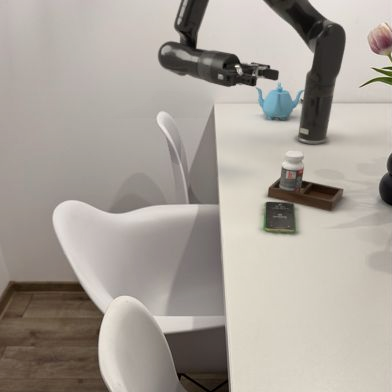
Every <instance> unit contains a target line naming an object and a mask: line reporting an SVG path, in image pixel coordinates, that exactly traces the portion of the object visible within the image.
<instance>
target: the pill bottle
mask: <svg viewBox="0 0 392 392" xmlns="http://www.w3.org/2000/svg"><path fill="white" fill-rule="evenodd" d="M304 158H305V154H304V152H302V151H300V150H288V151H286V152H285V155H284V159H285V160H284V161H283V162H282V164H281V170H280V177H281V178H280V177H279V178H280V186H279V189H283V190H287V191H292V192H296V193H300V191H301V185H302V180H303V177H304V176H303V175H304V172H305V171H304V170H305V163H304V162H303V160H304Z"/></svg>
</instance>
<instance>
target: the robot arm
mask: <svg viewBox="0 0 392 392" xmlns="http://www.w3.org/2000/svg"><path fill="white" fill-rule="evenodd" d="M262 1H263V2H264V3H265V4H266V5H267V7H269V8H270V9H271V10H272V11H273V12H274V13H275V14H276V15H277V16H279V18H281V19H282V20H283V21H285V22H286V23H287V24H288V25H290V26H291V27H292V28H293V29H294V30H295V32H296V33H297V34H298V36H299V37H300V38H301V40H302V41H303V42H304V44H305V45H306V46H307V48H308V49H309V51H310V52H311V53H312V54H313V58H312V63H311V68H310V69H309V70H308V71H307V73H306V75H305V81H304V82H305V83H304V89H303V90H304V91H303V97H302V98H299V101H301V103H302V104H301V113H300V120H299V126H298V135H297V141H298V142H300V143H303V144H306V145H321V144H324V143H326V141H327V136H328V130H329V125H330V124H329V123H330V117H331V111H332V106H333V102H334V101H333V100H334V95H335V89H336V88H335V87H336V83H337V78H338V76H339V75H340V73H341V68H342V63H343V58H344V56H345V55H344V54H345V51H346V50H345V49H346V43H347V34H346V30H345V28H344V27H343V26H342V25H341V24H340V23H338V22H335V21H332V20H330V19H329V18H327V17H325V16H324V14H322V13H321V12H320V11H318V10H317V9H316V7H314V5H312V3H311V1H309V0H262ZM209 2H210V0H180V2H179V3H180V4H179V6H178V9H177V12H176V15H175V18H174V22H173V29H174V30H175V32H176V33H177V34H178V35H179V42H177V41H173V40H169V41H166V42H163V43H162V44H161V45H160V47H159V48H158V51H157V61H158V63H159V65H160V66H161V68H163V69H164V70H166V71H168V72H170V73H171V74H172V73H173V74H174V75H177V76H180V77H186V76H189V77H191V78H193V79H194V78H195V79H197V80H202V81H205V82H207V83H209V84H214V85H218V86H222V87H227V88H230V87H235V86H238V85H239V86H242V85H245V86H249V87H254V88H255V87H256V86H257V82H258V79H263V80H271V81H273V82H274V81H278V80H279V76H280V71H279V70H278V69H273V68H271V65H270V64H264V63H259V62H255V61H252V62H250V63H248V62H241V61H240V59H239V57H238V55H236V54H235V53H231V52H227V51H219V50H215V49H212V50H210V49H205V48H197V47H198V40H199V38H198V37H199V32H200V30H201V26H202V23H203V20H204V17H205V14H206V11H207V8H208V6H209Z"/></svg>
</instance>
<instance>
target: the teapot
mask: <svg viewBox="0 0 392 392" xmlns="http://www.w3.org/2000/svg"><path fill="white" fill-rule="evenodd" d="M254 88H255V89H256V91H257V93H258V105H259V106H260V108H261V110H262V112H263V114H264V115H265V116H267V118H266V119H267V120H271V121H272V120H273V119H274V118H279V119H280V120H281V121H286V120H287V118H286V117H289V116H290V115H291V114H292V113H293V111H294V109H295V108H297V106H298V105H299V102H300V99H301V98H300V97H301V96H302V93H304V89H301V90H298V92H297V94H296V97H295V99H294V100H293V98H292V96H291V94H290V92H289V91H288V90H286V89H284V87H283V86H282V83H281V82H280V81H279V82H277V87H276V89H271V90H270V91H269V92H268V93H267V95H266V96H265V98H263V91H262V89H261V88H259V87H256V86H254Z"/></svg>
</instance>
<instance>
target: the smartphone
mask: <svg viewBox="0 0 392 392" xmlns="http://www.w3.org/2000/svg"><path fill="white" fill-rule="evenodd" d="M295 208H296V207H295V203H293V202H289V201H266V202H264V212H263V230H264V231H265V232H270V233H286V234H287V233H289V234H293V233H295V232H296V230H297V225H296V223H297V222H296V209H295Z"/></svg>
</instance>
